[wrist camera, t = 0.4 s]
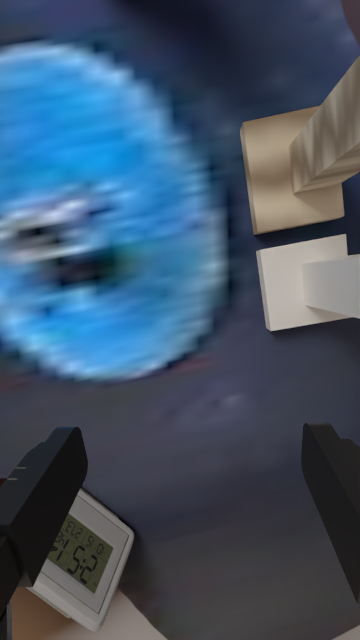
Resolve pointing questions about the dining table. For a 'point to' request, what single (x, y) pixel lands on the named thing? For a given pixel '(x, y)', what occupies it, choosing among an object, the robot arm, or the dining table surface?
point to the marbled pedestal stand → (303, 159)
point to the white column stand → (309, 283)
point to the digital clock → (85, 563)
